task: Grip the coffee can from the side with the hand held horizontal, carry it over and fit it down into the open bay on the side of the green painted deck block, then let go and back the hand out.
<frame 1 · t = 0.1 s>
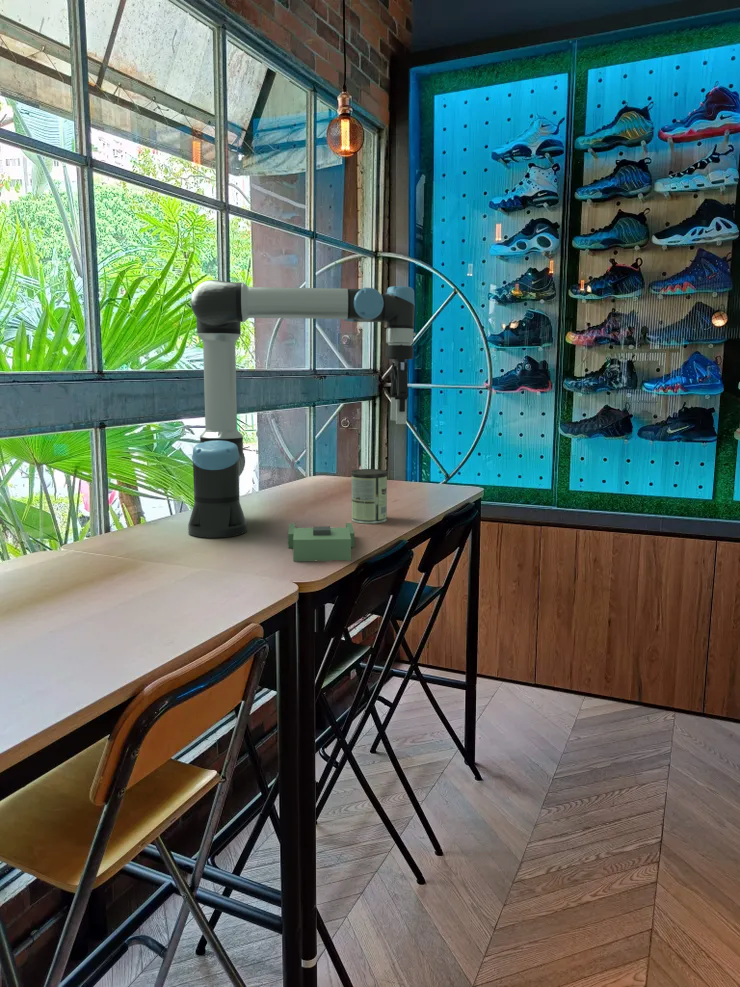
hand: (398, 422, 207), 28 cm above the table, fingers open, 13 cm apart
coffee can: (368, 520, 211), on the table
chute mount: (321, 541, 185), on the table
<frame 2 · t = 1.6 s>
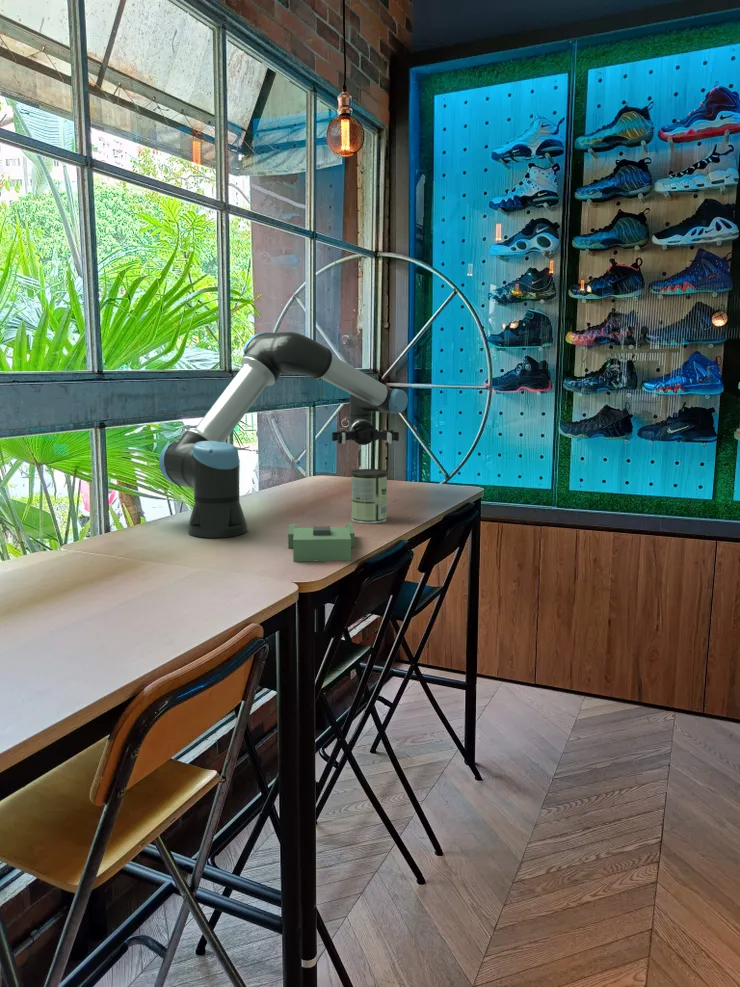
hand: (367, 439, 216), 22 cm above the table, fingers open, 13 cm apart
nothing on the table moved.
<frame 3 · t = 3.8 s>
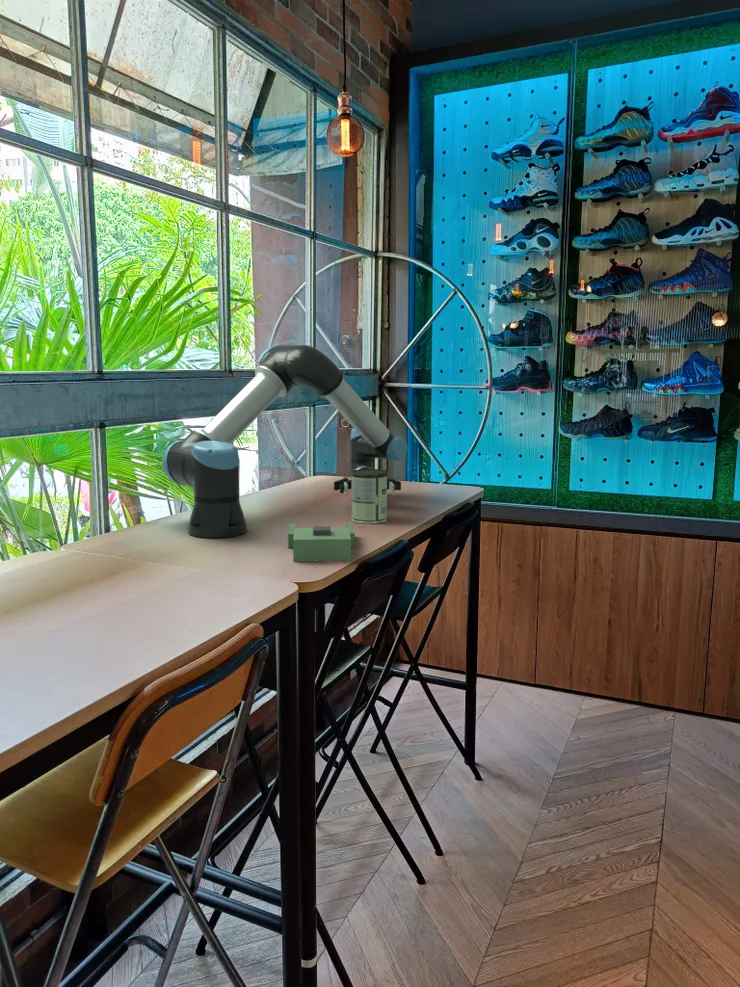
hand: (369, 490, 215), 8 cm above the table, fingers open, 13 cm apart
nothing on the table moved.
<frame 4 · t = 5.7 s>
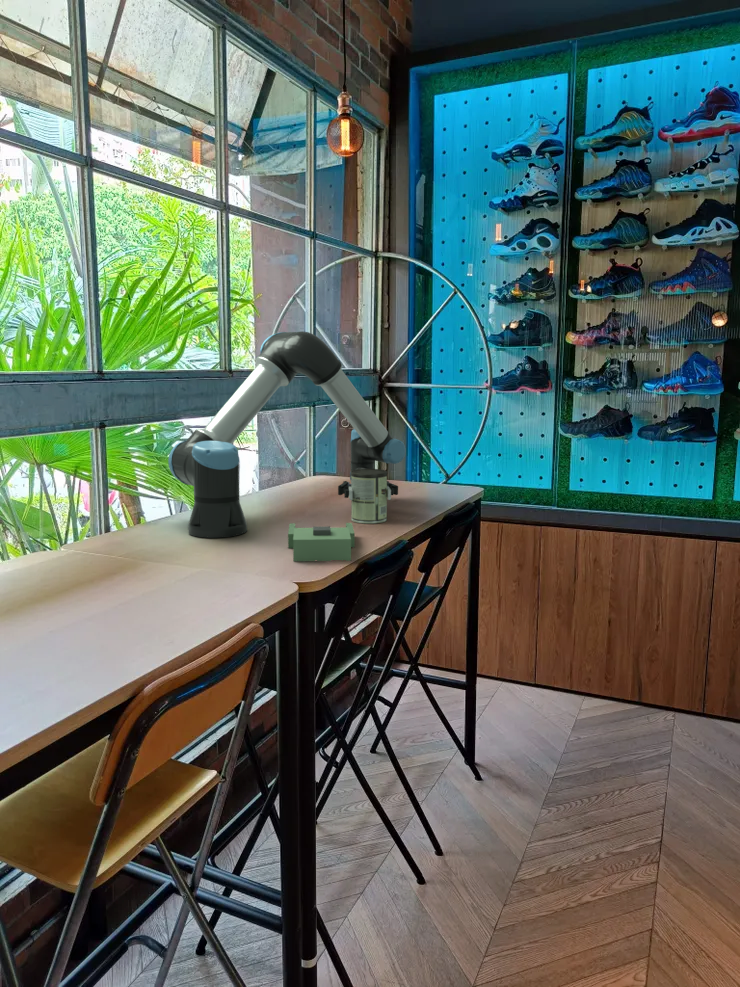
hand: (370, 495, 205), 8 cm above the table, fingers closed on coffee can, 10 cm apart
coffee can: (368, 520, 211), on the table, touching gripper
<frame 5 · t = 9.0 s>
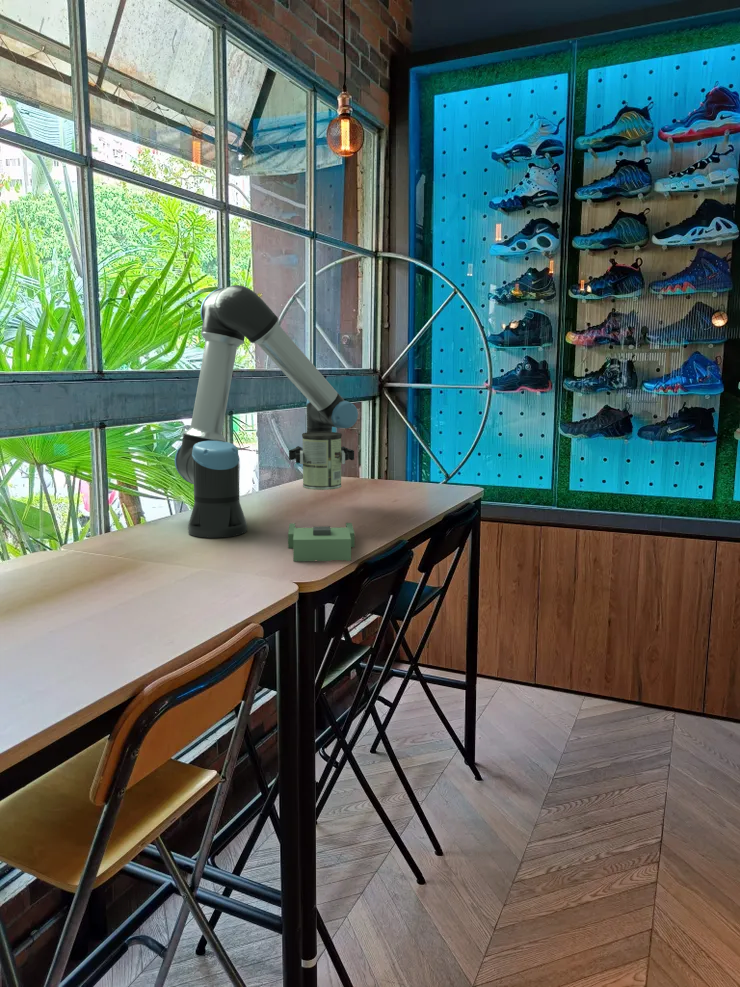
hand: (322, 458, 189), 20 cm above the table, fingers closed on coffee can, 10 cm apart
coffee can: (321, 487, 195), point 12 cm above the table, touching gripper
when the fingers open (9 cm above the table, at t = 12.6 s): coffee can drops 2 cm, resting in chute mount.
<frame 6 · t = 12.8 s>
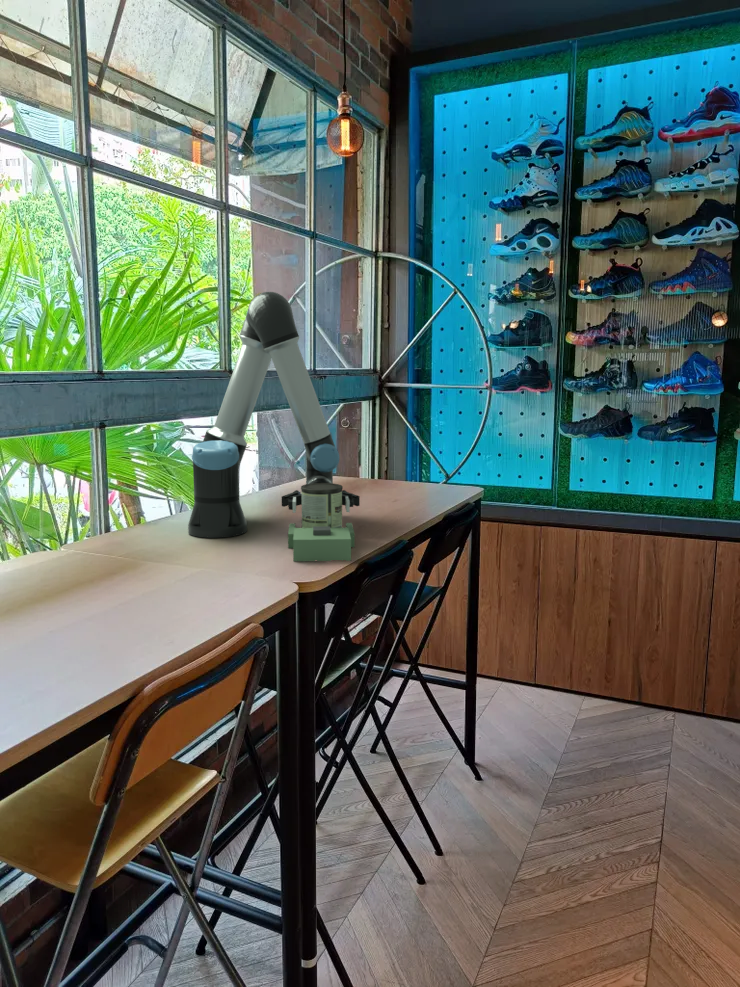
hand: (321, 507, 180), 9 cm above the table, fingers open, 12 cm apart
coffee can: (321, 542, 185), resting in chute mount
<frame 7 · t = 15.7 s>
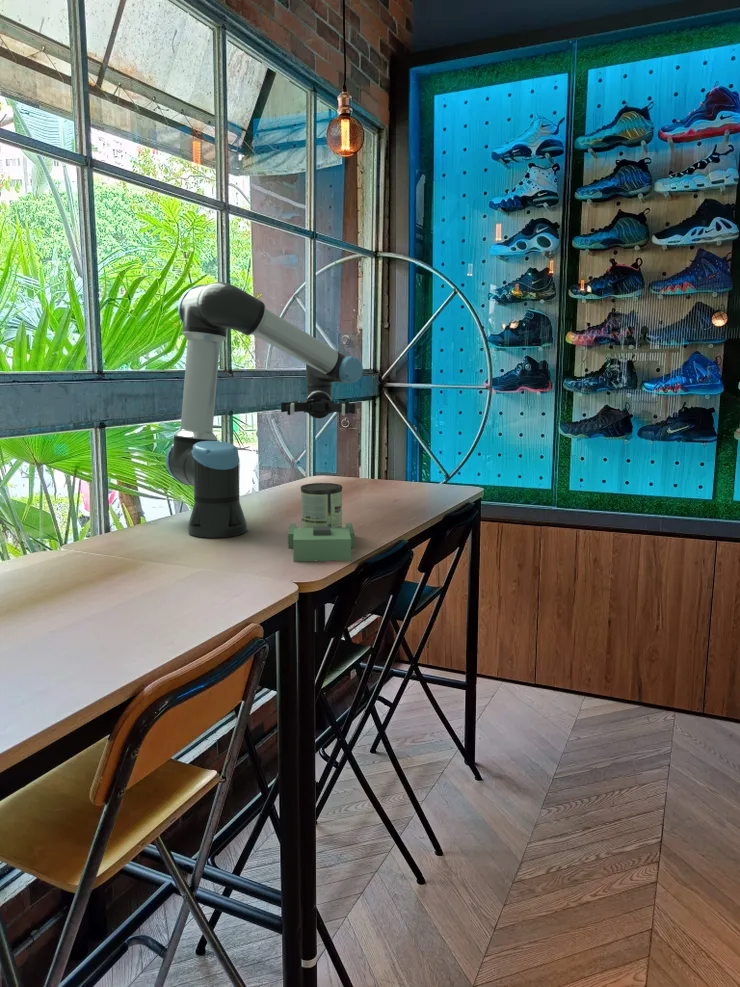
hand: (317, 410, 194), 32 cm above the table, fingers open, 13 cm apart
nothing on the table moved.
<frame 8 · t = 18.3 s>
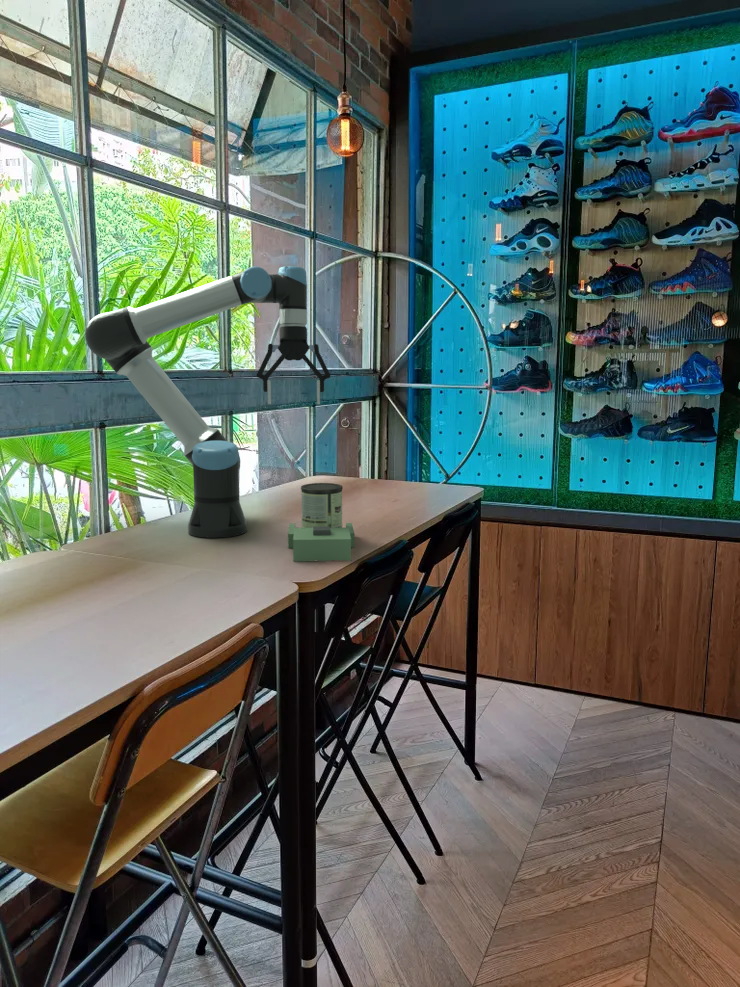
hand: (294, 404, 206), 33 cm above the table, fingers open, 13 cm apart
nothing on the table moved.
at the end: coffee can 0.2 cm from the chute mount (horizontally); coffee can tilted 0°; the gripper is holding nothing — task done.
